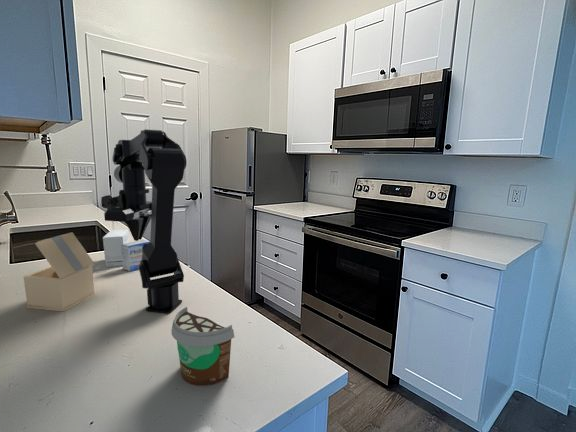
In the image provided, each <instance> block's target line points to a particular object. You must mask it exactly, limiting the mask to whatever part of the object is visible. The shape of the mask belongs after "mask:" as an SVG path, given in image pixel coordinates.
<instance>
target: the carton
mask: <svg viewBox="0 0 576 432" xmlns="http://www.w3.org/2000/svg"><path fill="white" fill-rule="evenodd" d="M93 273H94V272H93V265H91V266H89V267H87V268H84V269H82V270H80V271H77V272H75V273H73V274H70V275H68V276H66V277H63V278H61V279H60V278H59V276H58V275H57V273H56V272H55V271H54V269H53V268H52V266H51V265H50V266H48V267H45V268H42V269H41V270H37V271H35V272H32V273H29V274H27V275H24V276H23V282H24V290H25V298H26V306H27V308H28V309H34V310H35V309H36V310H47V311H54V312H55V311H56V312H65V311H67V310H69V309H71V308H73V307H74V306H76V305H78V304H79V303H81V302H83V301H85V300H87V299H89V298H91V297H93V296H94V295H95V284H94V274H93Z"/></svg>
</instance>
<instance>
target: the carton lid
mask: <svg viewBox="0 0 576 432" xmlns="http://www.w3.org/2000/svg"><path fill="white" fill-rule="evenodd" d="M34 244H35V246H36V247H37V249H38V250H39V251H40V253H41V254H42V256H43V257H44V258H45V259H46V261H47V262H48V264H49V265H50V267H51V266H52V268H53V269H54V271H55V272H56V273H57V275H58V276H59V278H60V279H61V278H63V277H66V276H68V275H70V274H73V273H75V272H77V271H80V270H82V269H84V268H87V267H89V266H93V265H94V264H95V262H94V261H93V259H92V257H90V255H89V253H88V252H87V251H86V249H85V248H84V246H83V245H82V243H81V242H80V241H79V239H78V238H77V237H76V235H75V234H74V232H73V231H72V232H68V233H64V234H60V235H56V236H52V237H50V238H45V239H42V240H38V241H36V242H35V243H34Z"/></svg>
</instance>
